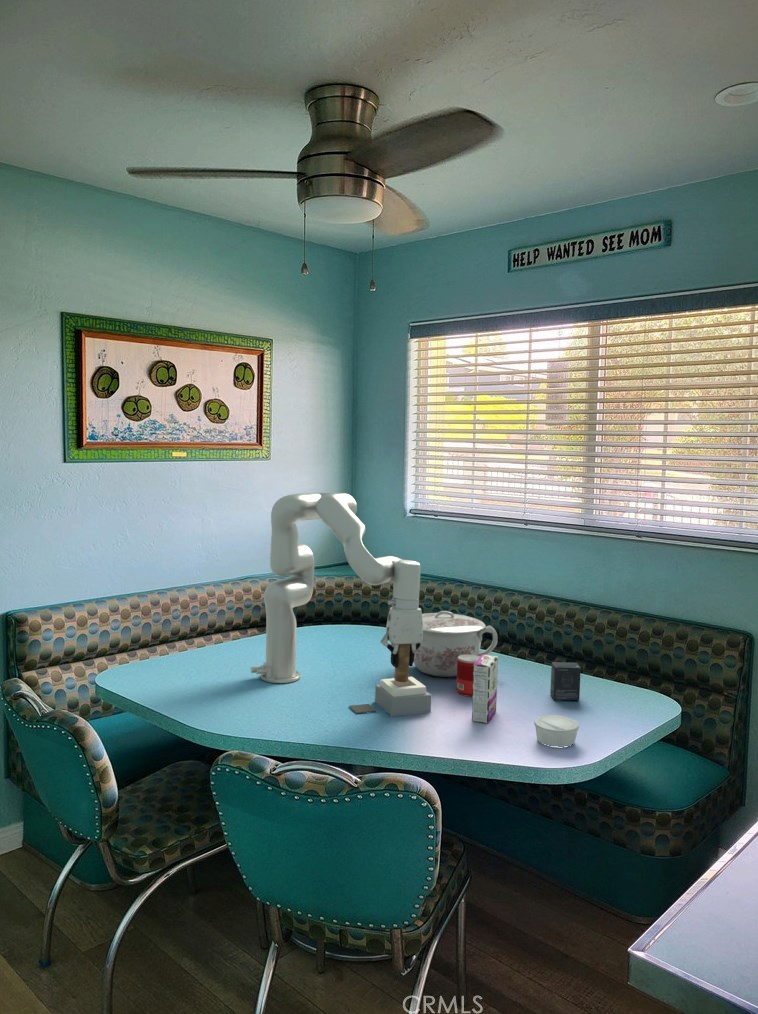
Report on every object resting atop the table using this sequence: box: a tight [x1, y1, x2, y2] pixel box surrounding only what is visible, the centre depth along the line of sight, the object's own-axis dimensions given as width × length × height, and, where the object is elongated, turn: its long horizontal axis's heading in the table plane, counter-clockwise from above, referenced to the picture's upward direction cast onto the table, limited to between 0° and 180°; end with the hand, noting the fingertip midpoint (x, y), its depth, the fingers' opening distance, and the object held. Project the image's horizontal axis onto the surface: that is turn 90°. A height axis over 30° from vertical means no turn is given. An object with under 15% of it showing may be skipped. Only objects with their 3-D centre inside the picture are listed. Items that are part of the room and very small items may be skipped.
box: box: [549, 661, 582, 701], centre depth 239 cm, size 8×6×11 cm
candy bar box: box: [471, 654, 499, 725], centre depth 220 cm, size 11×5×16 cm, turn 160°
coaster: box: [348, 703, 377, 715], centre depth 223 cm, size 6×6×1 cm
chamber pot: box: [413, 610, 499, 678], centre depth 262 cm, size 28×28×21 cm
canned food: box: [455, 654, 480, 697], centre depth 241 cm, size 8×8×11 cm
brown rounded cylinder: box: [393, 644, 410, 682], centre depth 226 cm, size 4×4×14 cm
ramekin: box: [534, 714, 580, 747], centre depth 204 cm, size 11×11×5 cm
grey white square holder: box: [374, 676, 432, 717], centre depth 227 cm, size 12×13×7 cm
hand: (402, 665), depth 226 cm, fingers closed on brown rounded cylinder, 4 cm apart
